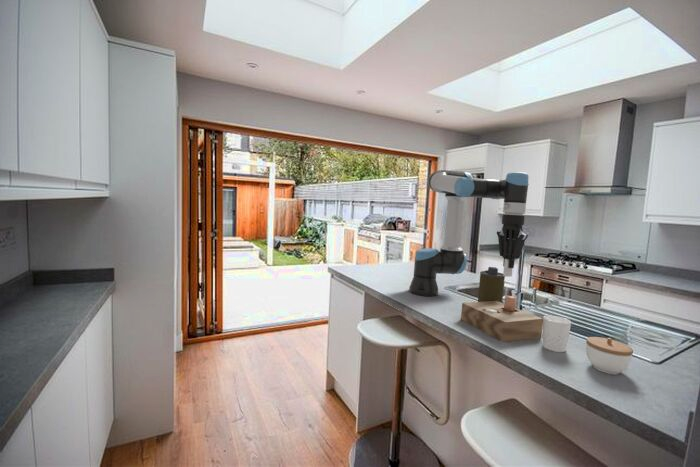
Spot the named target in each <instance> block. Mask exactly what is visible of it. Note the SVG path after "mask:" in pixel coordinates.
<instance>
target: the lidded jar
mask: <svg viewBox="0 0 700 467" xmlns="http://www.w3.org/2000/svg"><path fill="white" fill-rule="evenodd" d="M585 341H586V345H585V346H586V347H585V351H586V356H587V359H588V361H589V362H590V364H591V365H592V366H593V367H592V368H594V369H595V370H596V371H597V370H598V371H599V372H602V373H605V374H608V375H619V374H620V373H623V372H624V371H626V370H627V369H628V368H629V366H630V364H631V361H632V357H633V353H634V349H633V348H632V347H631V346H629V345H628V344H626V343H624V342H620V341H618V340H614V339H612V338H610V337H607V338H606V337H601V336H588V337H587V338H586V340H585Z"/></svg>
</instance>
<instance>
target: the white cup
mask: <svg viewBox="0 0 700 467" xmlns="http://www.w3.org/2000/svg"><path fill="white" fill-rule="evenodd" d="M542 318H543V327H542V336H541V338H542V342H541V344H542V345H541V346H542V347H543V348H544V349H547V350H549V351H552V352H556V353H564V352H566V350H567V345H568V342H569V338H570V331H571V326H572V321H571V320H570V319H568V318H565V317H562V316H558V315H550V314H547V315H546V314H545V315H543V317H542Z"/></svg>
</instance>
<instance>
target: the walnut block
mask: <svg viewBox="0 0 700 467" xmlns="http://www.w3.org/2000/svg"><path fill="white" fill-rule="evenodd" d="M486 309H493V310H496V311H497V313H493V314H491V313H489V312H486ZM460 320H461V321H462V322H464V323H466V324H468V325H470V326H471V327H474V328H476V329H477V330H480V331H482V332H483V333H486V334H488V335H489V336H492V337H493V338H495V339H497V340H498V341H500V342H502V343H504V342H505V343H506V342H512V341H514V342H515V341H522V340H529V339H531V340H532V339H540V338H539V337H541V338H542V336H543V317H540V316H538V315H535V314H532V313H530V312H527V311H524V310H522V309H519V308H517V307H516V308H515V312H508V311H506V310H504V303H503V302H502V303H501V302H499V301H486V302H478V301H474V302H470V301H469V302H462V304H461V314H460Z"/></svg>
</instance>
